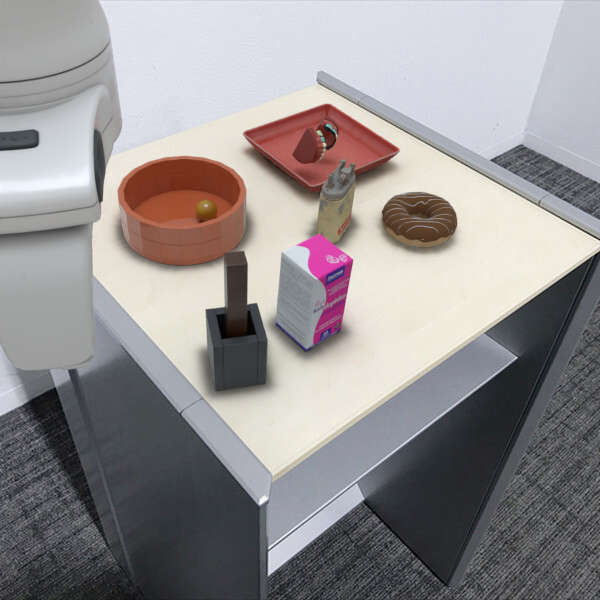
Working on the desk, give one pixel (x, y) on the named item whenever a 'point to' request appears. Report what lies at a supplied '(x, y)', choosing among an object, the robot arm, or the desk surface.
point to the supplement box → (312, 291)
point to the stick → (235, 294)
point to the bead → (206, 210)
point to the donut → (419, 232)
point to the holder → (236, 350)
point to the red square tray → (350, 146)
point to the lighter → (336, 202)
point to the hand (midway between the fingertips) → (75, 303)
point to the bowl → (182, 209)
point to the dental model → (316, 141)
